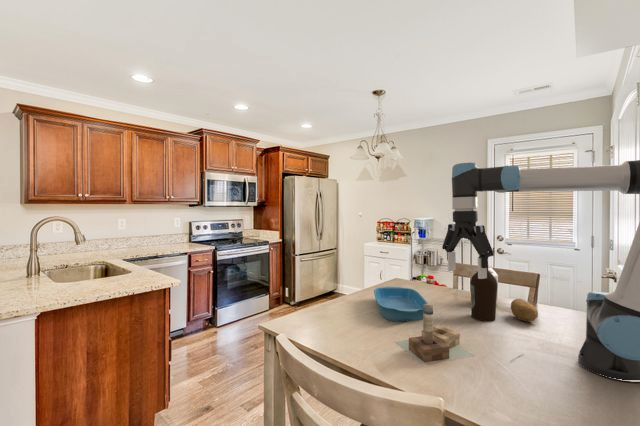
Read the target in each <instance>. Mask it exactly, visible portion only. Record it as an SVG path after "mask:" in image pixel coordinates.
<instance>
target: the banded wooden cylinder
mask: <svg viewBox="0 0 640 426" xmlns="http://www.w3.org/2000/svg"><path fill="white" fill-rule="evenodd" d="M422 321H423V322H422V323H423V324H422V327H423V328H422V330H423V343H424V344H426V345H432V344H433V326H434V305H433V304H431V303H428V304H424V305H423V319H422Z"/></svg>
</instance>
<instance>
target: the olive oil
mask: <svg viewBox="0 0 640 426" xmlns="http://www.w3.org/2000/svg"><path fill="white" fill-rule="evenodd" d="M469 284H470V302H471V303H470V308H471V314H470V315H471V317H472V318H473V319H475V320H476V321H477V320H478V321H483V322H495V321H496V317H497V313H496V312H497V305H496V301H497V288H498V289H499V286H498V285H499V283H498V284H497V280H496V278H495V277H494V276H493V275H492V274H491V273H490V272H489V270H488V268H487V278H484V279H478V271H477V272H476V273H474V274H473V275H472V276H471V278H470V283H469Z"/></svg>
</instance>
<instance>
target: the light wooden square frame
mask: <svg viewBox="0 0 640 426" xmlns="http://www.w3.org/2000/svg"><path fill="white" fill-rule="evenodd" d="M421 336H423V329H421ZM433 336H435V337H436V338H438V339H439V340H441V341H442V342H444V343H445V344H447V345H448V346H449V349H451V348H453V347H455V346H457V345H459V346H460V345H461V344H460V340H461V339H460V336H461V335H460V332H458V331H455V330H452V329H449V328H447V327H444V326H440V325H438V324H436V325H433Z"/></svg>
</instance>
